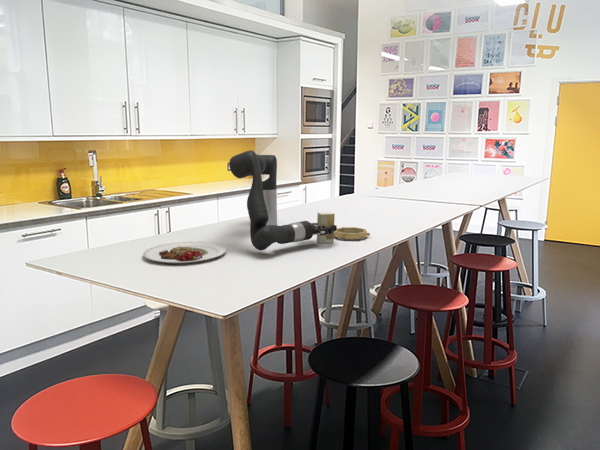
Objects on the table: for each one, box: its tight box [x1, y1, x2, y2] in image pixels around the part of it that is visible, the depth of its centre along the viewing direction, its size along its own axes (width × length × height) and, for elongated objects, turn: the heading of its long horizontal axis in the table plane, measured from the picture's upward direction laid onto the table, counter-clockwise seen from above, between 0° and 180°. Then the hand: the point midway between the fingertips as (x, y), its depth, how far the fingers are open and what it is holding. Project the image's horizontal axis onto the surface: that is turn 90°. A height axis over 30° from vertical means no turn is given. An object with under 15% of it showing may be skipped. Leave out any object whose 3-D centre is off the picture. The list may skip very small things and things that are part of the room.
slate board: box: [337, 237, 366, 241], centre depth 215 cm, size 11×11×1 cm
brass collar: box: [334, 226, 371, 239], centre depth 215 cm, size 16×13×2 cm
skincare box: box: [316, 211, 336, 245], centre depth 205 cm, size 6×4×12 cm
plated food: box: [142, 241, 227, 264], centre depth 187 cm, size 30×30×3 cm
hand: (328, 226), depth 206 cm, fingers open, 8 cm apart
